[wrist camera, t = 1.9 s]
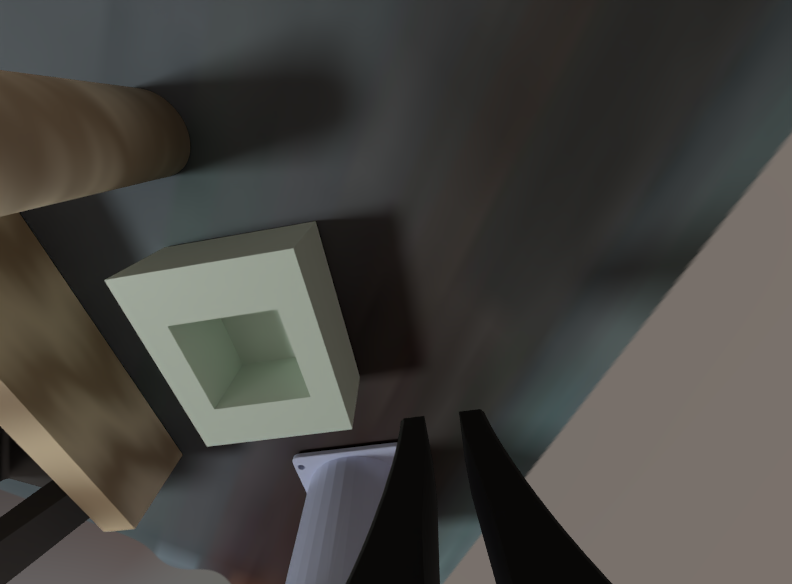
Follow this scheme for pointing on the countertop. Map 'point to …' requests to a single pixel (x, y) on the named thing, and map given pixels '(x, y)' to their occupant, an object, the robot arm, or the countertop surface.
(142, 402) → the oak wall
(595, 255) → the countertop surface
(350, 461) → the robot arm
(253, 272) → the socket block
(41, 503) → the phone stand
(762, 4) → the countertop surface
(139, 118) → the dowel
